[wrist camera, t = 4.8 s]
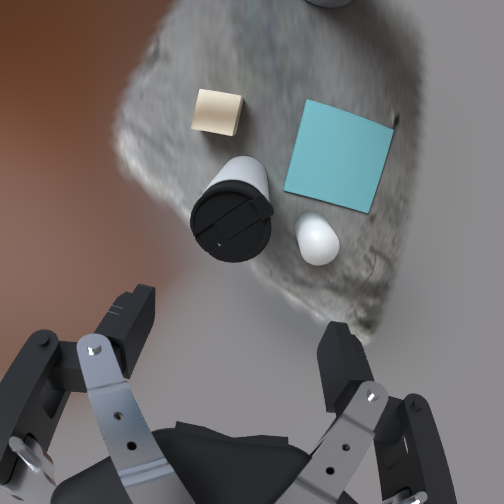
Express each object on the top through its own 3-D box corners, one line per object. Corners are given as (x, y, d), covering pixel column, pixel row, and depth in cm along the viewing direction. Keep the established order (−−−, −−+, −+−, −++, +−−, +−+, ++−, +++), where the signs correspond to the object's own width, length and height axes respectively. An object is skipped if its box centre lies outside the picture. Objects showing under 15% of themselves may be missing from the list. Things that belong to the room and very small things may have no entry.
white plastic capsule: (299, 207, 41) (307, 224, 34) (332, 215, 41) (344, 234, 35) (290, 239, 43) (295, 260, 36) (322, 246, 43) (331, 268, 37)
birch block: (207, 92, 34) (199, 89, 29) (244, 99, 34) (241, 96, 30) (199, 127, 36) (191, 128, 32) (235, 134, 36) (232, 136, 32)
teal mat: (306, 99, 34) (307, 99, 33) (392, 129, 35) (393, 130, 34) (283, 189, 39) (283, 190, 39) (366, 212, 40) (368, 213, 40)
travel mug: (277, 181, 39) (292, 237, 21) (239, 207, 41) (221, 282, 23) (251, 144, 37) (241, 167, 19) (212, 172, 39) (169, 221, 21)
